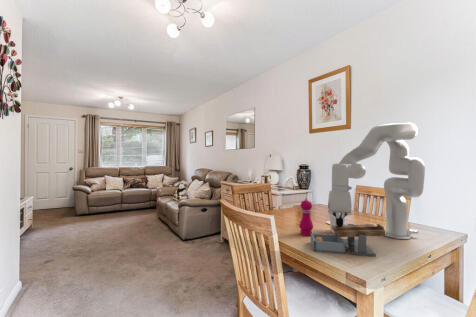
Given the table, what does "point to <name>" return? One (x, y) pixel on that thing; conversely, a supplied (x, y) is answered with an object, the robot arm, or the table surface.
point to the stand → (358, 245)
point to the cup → (333, 220)
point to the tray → (359, 230)
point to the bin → (328, 243)
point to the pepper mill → (306, 218)
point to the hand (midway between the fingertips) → (339, 226)
